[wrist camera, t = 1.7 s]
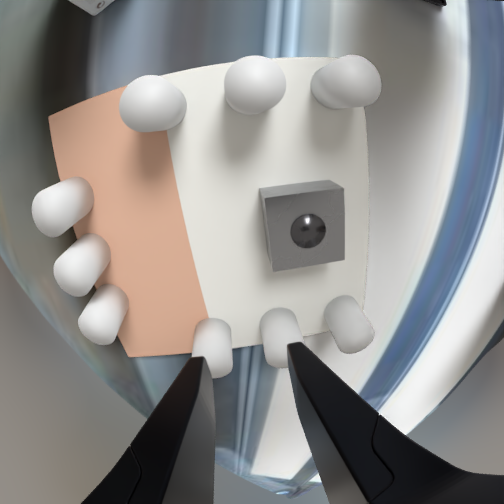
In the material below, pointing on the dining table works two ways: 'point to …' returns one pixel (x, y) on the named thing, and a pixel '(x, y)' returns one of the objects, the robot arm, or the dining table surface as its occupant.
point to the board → (211, 206)
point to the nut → (304, 224)
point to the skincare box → (92, 5)
